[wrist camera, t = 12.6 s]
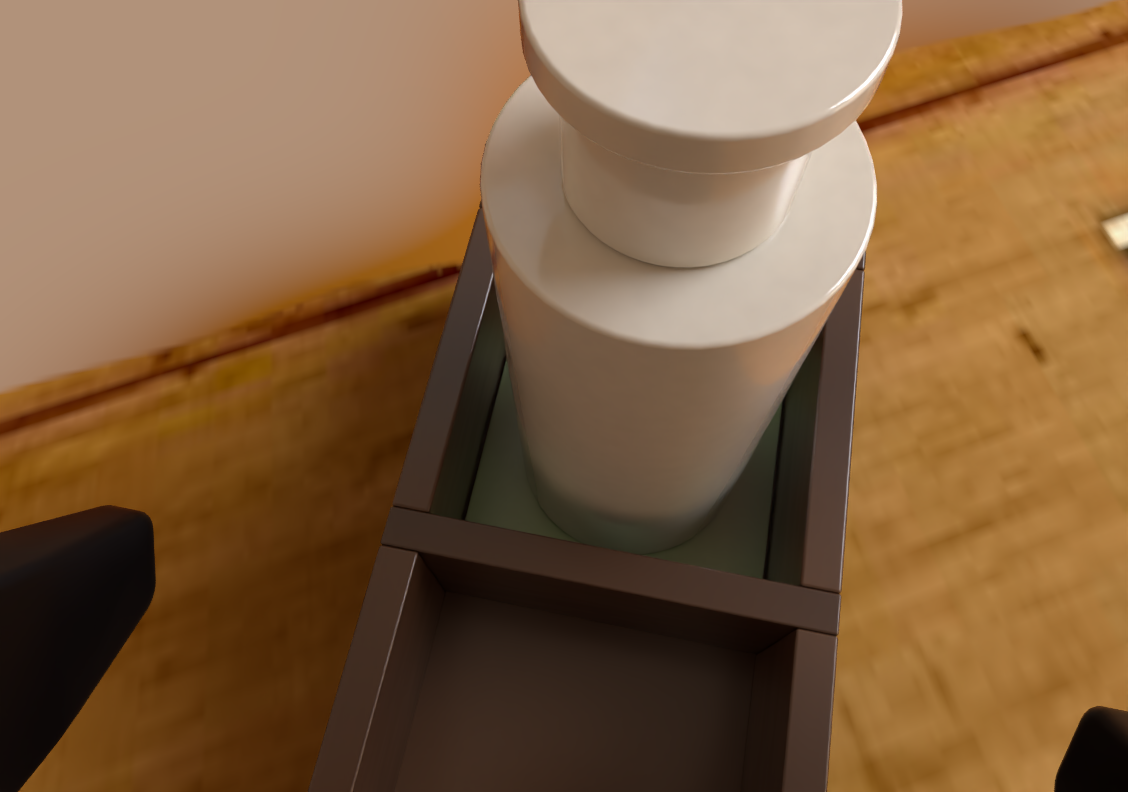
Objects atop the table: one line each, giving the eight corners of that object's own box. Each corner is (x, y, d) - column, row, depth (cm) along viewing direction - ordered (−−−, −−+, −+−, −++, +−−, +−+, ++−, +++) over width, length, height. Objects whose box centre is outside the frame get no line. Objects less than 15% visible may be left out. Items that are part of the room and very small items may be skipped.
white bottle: (622, 602, 20) (707, 304, 7) (479, 440, 22) (347, -32, 9) (781, 460, 22) (1085, 0, 9) (635, 317, 23) (711, -241, 10)
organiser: (744, 1085, 17) (799, 1185, 13) (312, 977, 18) (234, 1037, 14) (816, 332, 24) (867, 240, 20) (500, 278, 25) (486, 179, 21)
